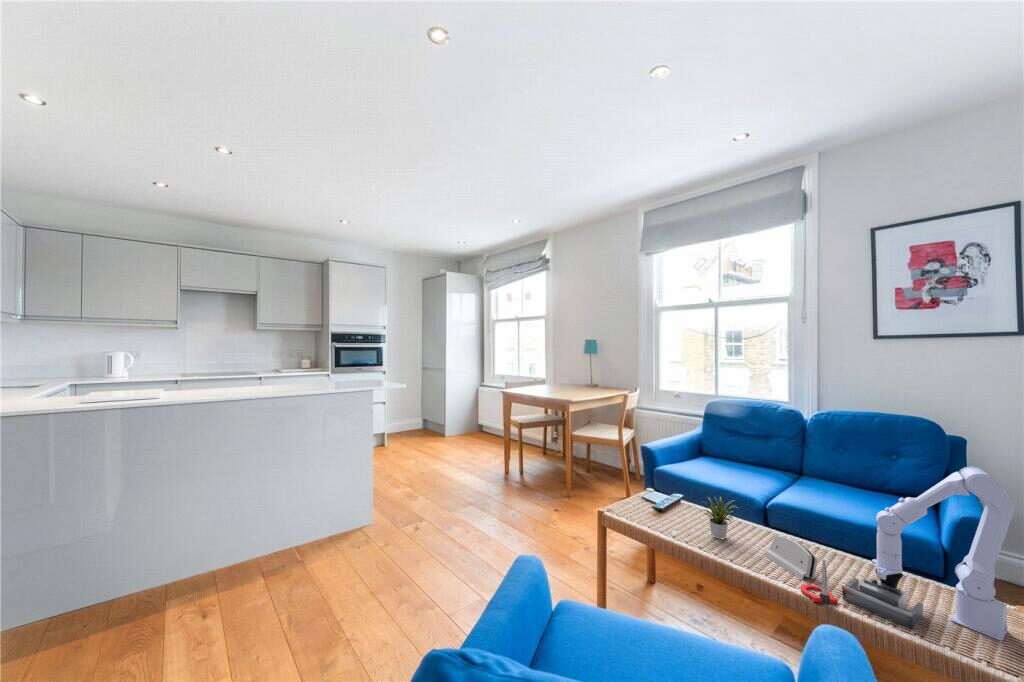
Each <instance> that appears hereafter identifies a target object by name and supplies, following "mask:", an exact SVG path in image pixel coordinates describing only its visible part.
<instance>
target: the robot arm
mask: <svg viewBox="0 0 1024 682" xmlns="http://www.w3.org/2000/svg"><path fill="white" fill-rule="evenodd" d="M969 492H970V493H971V494H973V495H974V496H976V497H978V498H979V499H980V500H981V501H982V502H983V504H984V505H985V506H984V508H983V511H982V514H981V518H980V520H979V522H978V526H977V529H976V531H975V535H974V537H973V540H972V543H971V546H970V550H969V552H968V554H967V555H965V556H964V558H963V559H962V562H960V563H958V564H957V565H956V566H955V568H954V573H955V575H956V577H957V578H958V579H959V581H958V583H957V584H956V585H955V613H954V615H953V616H952V617H951V619H950V621H951V622H953V623H956V624H958V625H959V626H960V625H961V626H963V627H965V628H967V629H971V630H973V631H975V632H978V633H980V634H983V635H985V636H988V637H990V638H992V639H996V640H998V641H1001V642H1002V641H1003V640H1004V638H1005V636H1006V634H1007V633H1008V617H1007V616H1008V613H1007V612H1008V609H1007V603H1005V602H1002V601H1000V600H998V599H997V598H995V596H996V595H997V593H996V591H997V590H996V588H995V585H994V583H995V578H996V576H995V573H996V572H995V567H996V564H997V561H998V558H999V554H1000V552H1001V549H1002V547H1003V544H1004V541H1005V539H1006V536H1007V533H1008V530H1009V527H1010V524H1011V521H1012V518H1013V516H1014V513H1015V506H1014V504H1013V502H1012V501H1011V499H1010V497H1009V495H1008V493H1007V492H1006V489H1005V487H1004V486H1003V485H1002V484H1001V483H999V481H997V480H996V479H995V478H994V476H992V475H990V474H989V473H988V472H987V470H984V469H983V468H981V467H978V466H973V465H972V466H965V467H963V468H961V469H960V470H959V471H955V472H952V473H951V474H950V475H948V476H947V477H945V478H943V480H940V482H938V483H936V484H934V486H931V487H930V488H929V489H927V490H926V491H924V492H922V493H921V494H919V496H917V497H910V496H907V497H905V498H904V497H900V498H898V502H897V503H895V504H894V505H892V506H890V507H888V506H887V507H885V508H884V510H880V511H879V512H877V514H876V516H875V521H876V524H877V528H876V531H877V532H876V558H874V559H871V562H872V564H874V565H875V566H876V569H875V574H876V578H878V579H879V582H881V583H883V584H886V585H889V586H891V587H894V588H896V589H898V585H899V582H900V581H901V579H902V578H903V577H904V574H903V572H904V571H903V567H902V565H903V563H902V562H903V559H902V558H903V557H902V556H903V555H902V548H903V546H902V545H903V544H902V541H903V540H902V537H901V534H902V533H903V531H904V527H906V526H909V525H911V524H913V523H914V522H916V521H918V520H920V519H921V518H923V517H925V516H926V515H928V508H930V507H932V506H934V505H936V504H937V503H940V502H943V501H944V500H946V499H948V498H949V497H952V496H954V495H958V496H959V495H960V496H968V497H969V496H970V493H969Z"/></svg>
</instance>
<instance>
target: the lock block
mask: <svg viewBox="0 0 1024 682" xmlns="http://www.w3.org/2000/svg"><path fill="white" fill-rule="evenodd" d="M858 591H859V592H861V593H863V594H866V595H868V596H871V597H873V598H876V599H878V600H880V601H883V602H885V603H888V604H890V605H893V606H895V607H898V608H900V609H902V610H905V611H906V609H907V592H906V591H904V590H902V589H899V588H894V587H891V586H889V585H886V584H883V583H881V581H878V580H876V579H875V578H870V577H866V578H865V579H864V580H863V581H862V582H861V583H859V590H858Z"/></svg>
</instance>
